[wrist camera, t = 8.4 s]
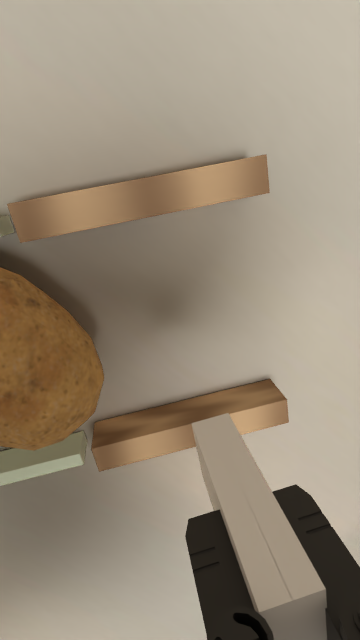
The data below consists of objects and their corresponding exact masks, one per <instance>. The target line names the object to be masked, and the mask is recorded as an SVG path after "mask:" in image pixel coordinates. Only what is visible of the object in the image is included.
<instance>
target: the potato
mask: <svg viewBox="0 0 360 640" xmlns="http://www.w3.org/2000/svg"><path fill="white" fill-rule="evenodd" d="M103 381H104V374H103V369H102V364H101V362H100V359H99V357H98V354H97V352H96V349H95V347H94V344H93V342H92V339H91V337H90V336H89V335H88V334H87V332H86V331H85V330H84V329H83V328H82V327H81V326H80V325H79V323H78V322H77V321H76V320H75V319H74V318H73V317H72V316H71V314H70V313H69V312H68V311H67V310H66V309H65V308H63V307H62V306H61V305H60V304H58V303H57V302H56V301H55V300H53V299H52V298H51V297H50V296H48V295H47V294H46V293H44V292H43V291H42V290H40V289H39V288H37V287H36V286H34V285H33V284H32V283H30V282H29V281H28V280H26V279H25V278H24V277H23V276H21V275H18V274H16V273H13V272H11V271H8V270H6V269H3V268H1V267H0V446H3V447H11V448H18V449H25V450H32V451H35V450H38V449H40V448H43V447H46V446H49V445H52V444H55V443H58V442H61V441H63V440H64V439H65V438H67V437H68V436H69V435H70V434H71V433H72V432H74V431H75V430H76V429H77V428H78V427H80V426H81V425H82V424H83V423H84V422H85V421H87V420H88V418H89V417H90V416H91V415H92V414H93V413H94V412H95V409H96V406H97V402H98V399H99V395H100V391H101V388H102V384H103Z"/></svg>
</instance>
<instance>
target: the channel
mask: <svg viewBox="0 0 360 640" xmlns="http://www.w3.org/2000/svg"><path fill="white" fill-rule="evenodd" d="M266 193H270V192H269V180H268V168H267V156H266V155H261V156H255V157H250V158H245V159H240V160H234V161H229V162H224V163H219V164H214V165H208V166H203V167H198V168H193V169H187V170H182V171H177V172H172V173H166V174H161V175H156V176H151V177H146V178H140V179H135V180H130V181H125V182H119V183H114V184H109V185H104V186H98V187H93V188H88V189H83V190H77V191H72V192H67V193H62V194H57V195H51V196H46V197H41V198H36V199H30V200H25V201H20V202H15V203H9V204H7V206H8V209H9V211H10V214H11V217H12V220H13V223H14V226H15V229H16V232H17V235H18V238H19V240H20V243H22V242H27V241H32V240H37V239H42V238H47V237H52V236H57V235H62V234H67V233H72V232H77V231H82V230H87V229H92V228H97V227H102V226H107V225H112V224H117V223H122V222H127V221H132V220H137V219H142V218H147V217H152V216H157V215H162V214H167V213H172V212H176V211H181V210H186V209H191V208H196V207H201V206H206V205H211V204H216V203H221V202H226V201H231V200H236V199H241V198H246V197H251V196H256V195H261V194H266ZM226 413H229V415H230V417H231V419H232V421H233V422H234V424H235V426H236V428H237V430H238V431H239V433H240V435H242V434H246V433H250V432H254V431H257V430H261V429H265V428H269V427H273V426H277V425H281V424H284V423H288V422H289V419H288V407H287V399H286V398H285V397H284V395H283V394H282V393H281V392H280V390H279V389H278V388H277V387H276V386H275V384H274V383H273V382H272V381H271V379H268V380H264V381H260V382H256V383H252V384H248V385H243V386H239V387H235V388H231V389H227V390H223V391H219V392H215V393H211V394H207V395H203V396H199V397H195V398H191V399H187V400H183V401H179V402H175V403H171V404H167V405H163V406H159V407H155V408H151V409H147V410H143V411H138V412H134V413H130V414H126V415H122V416H118V417H114V418H110V419H106V420H102V421H98V422H95V425H94V433H93V440H92V448H91V450H92V453H93V455H94V458H95V461H96V464H97V467H98V470H99V472H100V471H104V470H107V469H111V468H115V467H119V466H123V465H127V464H130V463H134V462H138V461H142V460H146V459H150V458H154V457H157V456H161V455H165V454H169V453H173V452H177V451H180V450H184V449H188V448H192V447H196V442H195V438H194V433H193V428H192V424H191V423H194V422H198V421H201V420H205V419H208V418H212V417H215V416H219V415H223V414H226Z"/></svg>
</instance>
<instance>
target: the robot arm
mask: <svg viewBox="0 0 360 640" xmlns="http://www.w3.org/2000/svg"><path fill="white" fill-rule="evenodd" d="M191 424H192V428H193V433H194V438H195V442H196V447H197V452H198V456H199V461H200V465H201V470H202V475H203V478H204V482H205V485H206V488H207V491H208V494H209V497H210V500H211V503H212V506H213V509H214V511H213V512H210V513H207V514H203V515H200V516H197V517H194V518H191V519H189V520H188V525H187V531H186V536H185V537H186V542H187V546H188V551H189V555H190V560H191V565H192V569H193V574H194V578H195V583H196V588H197V592H198V597H199V601H200V606H201V610H202V615H203V620H204V624H205V629H206V633H207V640H360V567H359V566H358V564H357V563H356V561H355V560H354V558H353V557H352V555H351V554H350V552H349V551H348V549H347V548H346V546H345V545H344V544H343V542H342V541H341V539H340V538H339V536H338V535H337V533H336V532H335V530H334V529H333V527H331V525H330V523H329V522H328V520H327V519H326V517H325V516H324V514H322V512H321V510H320V508H319V507H318V505H317V504H316V502H315V501H314V499H313V498H312V497H311V495H309V494H308V493H307V492H305V491H304V490H303V489H301V488H300V487H299V486H297V485H293V486H289V487H286V488H283V489H280V490H277V491H273V492H272V491H271V489H270V487H269V486H268V484H267V482H266V480H265V478H264V477H263V475H262V473H261V471H260V469H259V467H258V466H257V464H256V462H255V460H254V458H253V457H252V455H251V453H250V451H249V449H248V448H247V446H246V444H245V442H244V440H243V439H242V437H241V435H240V433H239V431H238V430H237V428H236V426H235V424H234V422H233V421H232V419H231V417H230V415H229V413H226V414H223V415H219V416H215V417H212V418H208V419H205V420H201V421H198V422H194V423H191Z"/></svg>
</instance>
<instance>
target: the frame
mask: <svg viewBox="0 0 360 640" xmlns="http://www.w3.org/2000/svg"><path fill="white" fill-rule="evenodd" d="M14 232H15V231H14V228H13V225H12V223H11V220H10V217H9V215H8V216H1V217H0V236H4V235H7V234H11V233H14ZM86 446H87V439H86V436H85V433H84V431H81V432H77V433H73V434H70V435H69V436H68V437H67V438H65V439H64V440H63V441H61V442H58V443H55V444H52V445H49V446H46V447H43V448H40V449H38V450H35V451H32V450H25V449H18V448H13V449H9V450H5V451H1V452H0V486H2V485H6V484H10V483H14V482H18V481H22V480H26V479H30V478H34V477H37V476H41V475H45V474H49V473H53V472H57V471H61V470H65V469H69V468H72V467H76V466H80V465H84V459H85V452H86Z"/></svg>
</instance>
